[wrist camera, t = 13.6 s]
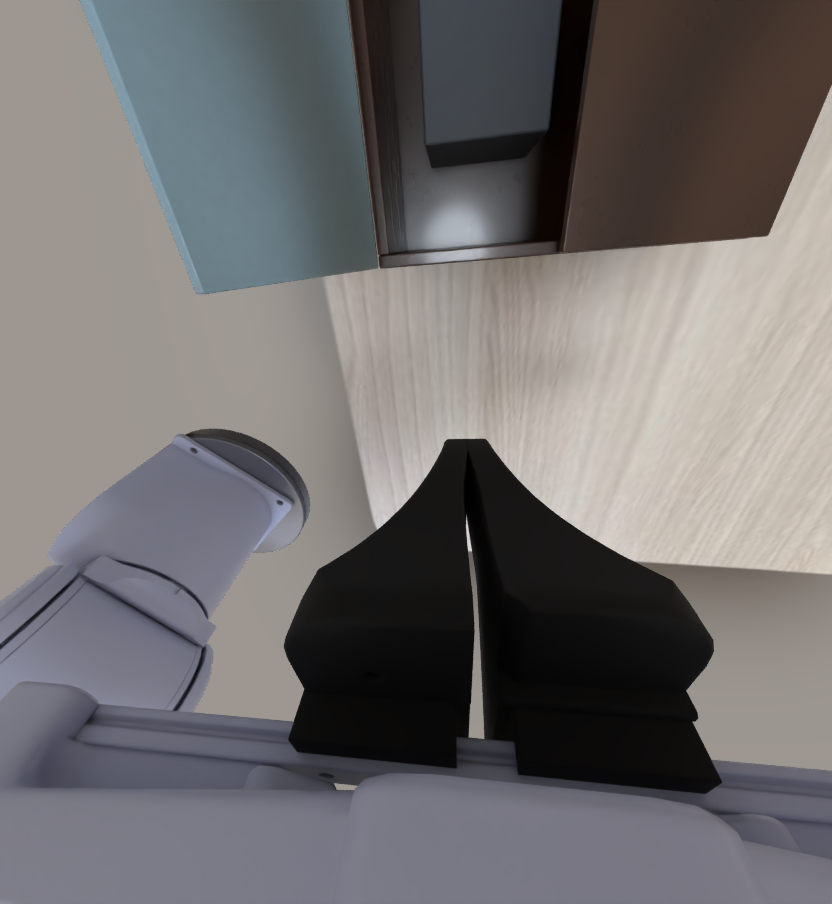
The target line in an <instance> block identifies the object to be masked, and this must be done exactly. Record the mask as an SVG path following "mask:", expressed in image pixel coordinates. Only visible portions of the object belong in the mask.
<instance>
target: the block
mask: <svg viewBox="0 0 832 904" xmlns="http://www.w3.org/2000/svg"><path fill="white" fill-rule="evenodd" d="M562 2H563V0H418V13H419V35H420V57H421V79H422V100H423V122H424V143H425V147H426V150H427V154H428V158H429V161H430V165H431V168H439V167H447V166H456V165H464V164H473V163H481V162H490V161H498V160H507V159H515V158H524V157H525V156H526V155H527V154H528V153H529V152H530V151H531V150H532V148H533V147H534V146H535V145H536V144H537V143H538V141H539V140H540V139H541V138H542V137H543V136H544V134H545V133H546V132H547V131H548V129H549V126H550V117H551V107H552V98H553V88H554V78H555V69H556V59H557V50H558V40H559V31H560V21H561V11H562Z"/></svg>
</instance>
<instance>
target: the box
mask: <svg viewBox="0 0 832 904" xmlns="http://www.w3.org/2000/svg"><path fill="white" fill-rule="evenodd" d="M348 2H349V11H350V19H351V28H352V36H353V45H354V53H355V61H356V70H357V78H358V87H359V95H360V104H361V112H362V121H363V129H364V138H365V146H366V155H367V163H368V172H369V180H370V189H371V197H372V205H373V214H374V222H375V231H376V239H377V248H378V255H380V256H379V265H380V268H381V269H382V268H394V267H407V266H419V265H431V264H443V263H455V262H467V261H479V260H492V259H504V258H516V257H528V256H540V255H552V254H564V253H577V252H589V251H601V250H613V249H625V248H637V247H649V246H661V245H674V244H686V243H698V242H710V241H722V240H734V239H746V238H752V237H764V236H768V235H769V233H770V230H771V228H772V226H773V223H774V221H775V218H776V216H777V214H778V211H779V209H780V206H781V204H782V202H783V199H784V197H785V195H786V192H787V190H788V187H789V185H790V183H791V180H792V178H793V176H794V173H795V171H796V168H797V166H798V164H799V161H800V159H801V157H802V154H803V152H804V149H805V147H806V145H807V142H808V140H809V138H810V135H811V133H812V130H813V128H814V126H815V123H816V121H817V118H818V116H819V114H820V111H821V109H822V107H823V104H824V102H825V99H826V97H827V95H828V92H829V90H830V88H831V85H832V0H563V2H562V11H561V21H560V31H559V40H558V50H557V59H556V69H555V78H554V88H553V98H552V107H551V117H550V126H549V129H548V131H547V132H546V133H545V134H544V136H543V137H542V138H541V139H540V140H539V141H538V143H537V144H536V145H535V146H534V147H533V148H532V150H531V151H530V152H529V153H528V154H527V155H526V156H525V157H524V158H515V159H507V160H498V161H490V162H481V163H473V164H464V165H456V166H447V167H439V168H431V165H430V161H429V158H428V154H427V150H426V147H425V143H424V122H423V100H422V79H421V57H420V35H419V13H418V0H348Z"/></svg>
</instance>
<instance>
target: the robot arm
mask: <svg viewBox="0 0 832 904" xmlns="http://www.w3.org/2000/svg"><path fill="white" fill-rule="evenodd" d="M281 501H282V502H281ZM292 507H293V502H292V501H291V500H290V499H288V498H287V497H285V496H283V495H282V494H280V493H278V492H277V491H275V490H274V489H272V488H270V487H269V486H267V485H265V484H264V483H262V482H261V481H259V480H257V479H256V478H254V477H253V476H251V475H249V474H248V473H246V472H244V471H243V470H241V469H240V468H238V467H236V466H235V465H233V464H231V463H230V462H228V461H227V460H225V459H223V458H222V457H220V456H218V455H217V454H215V453H214V452H212V451H210V450H209V449H207V448H206V447H204V446H202V445H201V444H199V443H197V442H196V441H194V440H193V439H191V438H189V437H188V436H186V435H184V434H178V435H177V436H175V437H174V439H173V441H172V443H171V444H170V445H168V446H167V447H166V448H164V449H163V450H161V451H160V452H159V453H157V454H156V455H155V456H153V457H152V458H150V459H149V460H147V461H146V462H145V463H143V464H142V465H141V466H139V467H138V468H136V469H135V470H134V471H132V472H131V473H129V474H128V475H126V476H125V477H124V478H122V479H121V480H119V481H118V482H117V483H115V484H114V485H112V486H111V487H110V488H108V489H107V490H106V491H104V492H103V493H102V494H100V495H99V496H98V497H96V498H95V499H94V500H93V501H92V502H90V503H89V504H88V505H87V506H86V507H85V508H84V509H83V510H82V511H80V512H79V513H78V514H77V515H76V516H75V517H74V518H73V519H72V520H71V521H70V522H69V523H68V525H67V526H66V527H65V528H64V529H63V530H62V531H61V533H60V534H59V536H58V537H57V538H56V540H55V541H54V543H53V544H52V546H51V548H50V550H49V553H48V557H49V559H50V560H51V561H52V562H54V563H55V564H57V565H53V566H48V567H46V568H44V569H43V570H42V571H40V572H39V573H37V574H36V575H35V576H33V577H32V578H31V579H29V580H28V581H27V582H25V583H24V584H23V585H21V586H20V587H19V588H17V589H16V590H15V591H13V592H12V593H11V594H9V595H8V596H7V597H5V598H4V599H3V600H2V601H0V904H832V771H827V770H818V769H805V768H796V767H785V766H774V765H763V764H752V763H741V762H730V761H718V760H711V758H710V756H709V754H708V752H707V750H706V748H705V746H704V744H703V742H702V740H701V738H700V736H699V734H698V732H697V730H696V728H695V726H694V724H693V722H692V721H696V720H697V719H698V714H697V711H696V709H695V707H694V705H693V703H692V701H691V699H690V697H689V695H688V693H687V692H686V690H687V689H688V688H689V687H690V685H691V684H692V683H693V682H694V681H695V679H696V678H697V677H698V676H699V674H700V673H701V672H702V671H703V670H704V669H705V667H706V666H707V664H708V662H709V660H710V659H711V657H712V655H713V652H714V644H713V639H712V637H711V636H710V634H709V633H708V631H707V630H706V628H705V626H704V625H703V623H702V622H701V620H700V619H699V617H698V615H697V614H696V612H695V611H694V609H693V608H692V606H691V605H690V603H689V602H688V600H687V599H686V598H685V596H684V595H683V594H682V593H681V591H680V590H679V589H678V587H677V586H676V585H675V583H674V582H673V581H672V580H670V579H668V578H666V577H664V576H662V575H660V574H658V573H656V572H654V571H652V570H650V569H648V568H646V567H644V566H642V565H640V564H638V563H636V562H634V561H632V560H630V559H628V558H626V557H624V556H622V555H620V554H618V553H617V552H615V551H613V550H611V549H610V548H608V547H606V546H604V545H603V544H601V543H599V542H598V541H596V540H594V539H593V538H591V537H589V536H588V535H586V534H585V533H583V532H581V531H580V530H578V529H577V528H575V527H574V526H573V525H571V524H570V523H568V522H567V521H565V520H564V519H562V518H561V517H560V516H558V515H557V514H556V513H554V512H553V511H552V510H550V509H549V508H548V507H547V506H546V505H544V504H543V503H542V502H541V501H540V500H538V499H537V498H536V497H535V496H534V495H533V494H532V493H531V492H530V491H529V490H528V489H527V488H526V487H525V486H524V485H523V484H522V483H521V482H520V481H519V480H518V479H517V478H516V477H515V476H514V475H513V474H512V472H511V471H510V470H509V469H508V468H507V467H506V465H505V464H504V463H503V462H502V460H501V459H500V458H499V456H498V455H497V454H496V452H495V451H494V450H493V448H492V447H491V445H490V444H489V442H488V441H487V440H486V439H448V440H446V441H445V442H444V446H443V448H442V451H441V453H440V455H439V457H438V459H437V461H436V462H435V464H434V466H433V467H432V469H431V471H430V472H429V474H428V475H427V477H426V478H425V479H424V481H423V482H422V484H421V485H420V486H419V488H418V489H417V490H416V492H415V493H414V494H413V495H412V496H411V498H410V499H409V500H408V501H407V502H406V503H405V504H404V505H403V507H402V508H401V509H400V510H399V511H398V512H397V513H395V514H394V515H393V516H392V517H391V518H390V519H389V520H388V521H387V522H386V523H385V524H384V525H383V526H381V527H380V528H379V529H378V530H377V531H375V532H374V533H373V534H371V535H370V536H369V537H368V538H366V539H365V540H364V541H362V542H361V543H360V544H358V545H357V546H356V547H354V548H353V549H351V550H350V551H348V552H347V553H345V554H343V555H341V556H340V557H338V558H337V559H335V560H333V561H332V562H330V563H329V564H327V565H325V566H323V567H322V568H320V569H319V570H318V571H317V573H316V575H315V576H314V578H313V580H312V582H311V584H310V585H309V587H308V589H307V591H306V592H305V594H304V596H303V598H302V600H301V602H300V604H299V607H298V609H297V611H296V614H295V616H294V619H293V621H292V623H291V626H290V628H289V630H288V633H287V635H286V639H285V643H284V649H285V652H286V655H287V658H288V660H289V662H290V663H291V665H292V667H293V669H294V671H295V673H296V674H297V676H298V678H299V680H300V682H301V683H302V685H303V687H304V692H303V695H302V698H301V701H300V705H299V707H298V710H297V714H296V716H295V719H294V722H292V721H281V720H269V719H259V718H247V717H237V716H226V715H214V714H204V713H193V712H194V710H195V708H196V706H197V705H198V703H199V701H200V699H201V698H202V695H203V694H204V691H205V689H206V687H207V684H208V682H209V679H210V675H211V670H212V663H213V650H212V648H211V646H210V645H208V644H207V642H208V640H209V638H210V637H211V635H212V633H213V632H214V630H215V629H216V626H215V625H213V624H212V623H211V622H210V621H209V619H210V618H211V616H212V614H213V613H214V611H215V610H216V608H217V607H218V605H219V604H220V602H221V600H222V599H223V597H224V596H225V594H226V593H227V591H228V590H229V588H230V586H231V585H232V583H233V582H234V580H235V579H236V577H237V576H238V574H239V572H240V571H241V569H242V568H243V566H244V565H245V563H246V561H247V560H248V558H249V557H250V555H251V554H252V552H253V551H255V550H256V548H257V547H258V546H259V545H260V544H261V543H262V542H263V541H264V539H265V538H266V537H267V536H268V535H269V534H270V533H271V531H272V530H273V529H274V528H275V527H276V526H277V525H278V524H279V522H280V521H281V520H282V519H283V518H284V517H285V516H286V514H287V513H288V512H289V511H290V510H291V509H292ZM466 514H467V521H468V527H469V534H470V540H471V547H472V553H473V560H474V566H475V573H476V581H477V595H478V613H479V629H480V630H479V631H480V650H481V671H482V692H483V714H484V736H485V737H484V738H485V739H478V738H468V736H469V714H470V704H471V689H472V669H473V650H474V611H473V595H472V586H471V577H470V567H469V558H468V547H467V536H466ZM334 783H339V784H348V785H357V787H356V788H355V790H336V787H335V785H334Z"/></svg>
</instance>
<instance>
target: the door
mask: <svg viewBox="0 0 832 904" xmlns="http://www.w3.org/2000/svg"><path fill="white" fill-rule="evenodd" d="M80 3H81V5H82V8H83V10H84V13H85V16H86V18H87V21H88V23H89V26H90V28H91V31H92V33H93V36H94V38H95V41H96V43H97V46H98V48H99V51H100V53H101V56H102V58H103V61H104V63H105V66H106V68H107V71H108V73H109V76H110V78H111V81H112V83H113V86H114V89H115V91H116V94H117V96H118V99H119V101H120V104H121V106H122V109H123V111H124V114H125V116H126V119H127V121H128V124H129V126H130V129H131V131H132V134H133V136H134V139H135V141H136V144H137V147H138V149H139V151H140V154H141V156H142V159H143V162H144V164H145V167H146V169H147V171H148V174H149V177H150V179H151V182H152V184H153V187H154V189H155V191H156V194H157V197H158V199H159V202H160V204H161V207H162V209H163V212H164V215H165V217H166V220H167V222H168V224H169V227H170V230H171V232H172V235H173V237H174V240H175V242H176V244H177V247H178V250H179V252H180V254H181V257H182V260H183V262H184V265H185V267H186V270H187V272H188V275H189V277H190V280H191V282H192V285H193V288H194V290H195V292H196V293H197V294H209V293H216V292H222V291H229V290H236V289H243V288H249V287H256V286H263V285H270V284H276V283H283V282H290V281H297V280H303V279H309V278H316V277H323V276H330V275H337V274H344V273H350V272H357V271H364V270H371V269H377V268H378V260H377V252H376V244H375V235H374V227H373V219H372V210H371V202H370V194H369V185H368V177H367V169H366V160H365V152H364V144H363V135H362V127H361V119H360V110H359V102H358V94H357V85H356V77H355V69H354V61H353V52H352V44H351V36H350V27H349V19H348V11H347V2H346V0H80Z"/></svg>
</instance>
